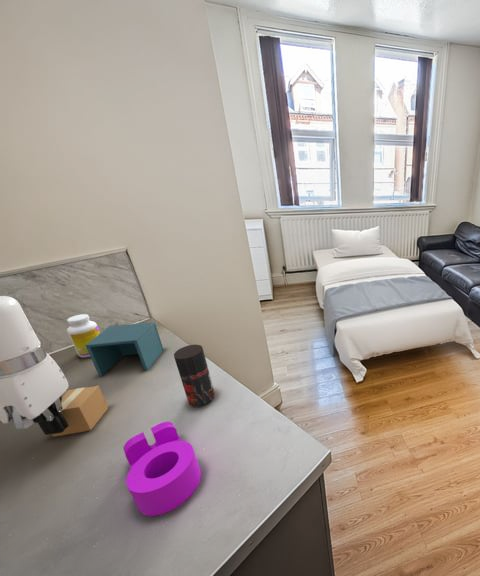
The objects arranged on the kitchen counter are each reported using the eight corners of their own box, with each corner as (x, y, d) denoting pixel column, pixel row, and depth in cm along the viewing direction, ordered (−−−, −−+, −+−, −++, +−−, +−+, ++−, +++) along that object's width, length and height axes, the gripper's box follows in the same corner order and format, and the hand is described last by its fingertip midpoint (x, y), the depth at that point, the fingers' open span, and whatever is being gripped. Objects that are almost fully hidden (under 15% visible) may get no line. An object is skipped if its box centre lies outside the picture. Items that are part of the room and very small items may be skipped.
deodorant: (218, 398, 75) (206, 351, 70) (192, 411, 71) (177, 362, 66) (210, 387, 79) (198, 341, 73) (185, 399, 75) (170, 351, 69)
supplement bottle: (110, 350, 94) (95, 316, 89) (82, 361, 89) (65, 325, 84) (102, 344, 97) (88, 310, 92) (75, 353, 92) (59, 318, 87)
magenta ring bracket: (208, 485, 55) (201, 462, 52) (144, 529, 48) (132, 506, 46) (182, 436, 65) (175, 415, 62) (125, 467, 58) (115, 445, 55)
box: (90, 430, 66) (78, 406, 63) (52, 437, 64) (38, 413, 61) (108, 407, 72) (98, 385, 69) (74, 413, 70) (62, 390, 67)
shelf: (147, 370, 85) (136, 340, 81) (99, 376, 83) (85, 345, 79) (163, 349, 95) (154, 321, 91) (120, 354, 92) (109, 325, 88)
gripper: (26, 341, 60) (63, 407, 67) (-56, 390, 47) (1, 467, 54) (69, 337, 62) (101, 402, 69) (2, 383, 48) (50, 458, 55)
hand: (57, 430), depth 61 cm, fingers closed
